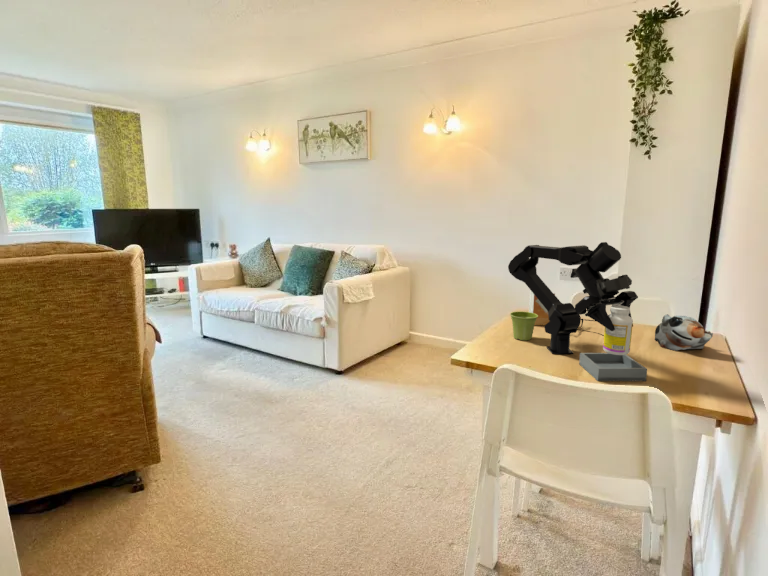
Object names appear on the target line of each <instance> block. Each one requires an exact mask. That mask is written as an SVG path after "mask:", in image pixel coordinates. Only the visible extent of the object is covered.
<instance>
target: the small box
mask: <svg viewBox="0 0 768 576" xmlns="http://www.w3.org/2000/svg"><path fill="white" fill-rule="evenodd" d="M552 293H553V294H554V295H555V296H556V293H555V292H553V291H552ZM528 312H531V313H535V314H537V315H538V317H537V319H536V321H535V325H534V326H545V325H546V324H547V323H548V322H549V316H548V311H547V309H546V308H545V307H544V306H543V305H542V303H541V302H540V301H539V300H538V298H537V297H536V296H535V295H534V294H533V292H532V291H531V290H530V289H529V304H528Z"/></svg>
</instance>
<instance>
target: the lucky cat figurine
mask: <svg viewBox="0 0 768 576" xmlns="http://www.w3.org/2000/svg"><path fill="white" fill-rule="evenodd" d="M713 335H714V333H713V332H711V331H710V330H705V328H704V326H703V325H702V323H700V322H699V321H697V319H695V318H694V317H692V316H688V315H687V316H686V315H674V316H673V315H672V316H670V315H669V314H665V315H663V317H662V319H661V323H659V324H658V325H657V326H656V327H655V331H654V341H655V342H658V345H659V346H660V347H661V348H663V347H664V348H663V349H667V350H670V351H671V350H672V351H674V350H675V352H676V351H680V350H684V351H685V350H696V349H697V350H703V349H704V348H705V345H707V344H708V342H710V340H711V339H712V338H713Z"/></svg>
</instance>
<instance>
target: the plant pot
mask: <svg viewBox="0 0 768 576" xmlns="http://www.w3.org/2000/svg"><path fill="white" fill-rule="evenodd" d="M509 316H510V318H511V323H512V333H513V338H514V339H516V340H520V341H529V340H532V338H533V333H534V328H535V326H536V325H535V321H536V319H537V317H538V315H537V314H535V313H531V312H529V311H521V310H519V311H512V312H510V313H509Z"/></svg>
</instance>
